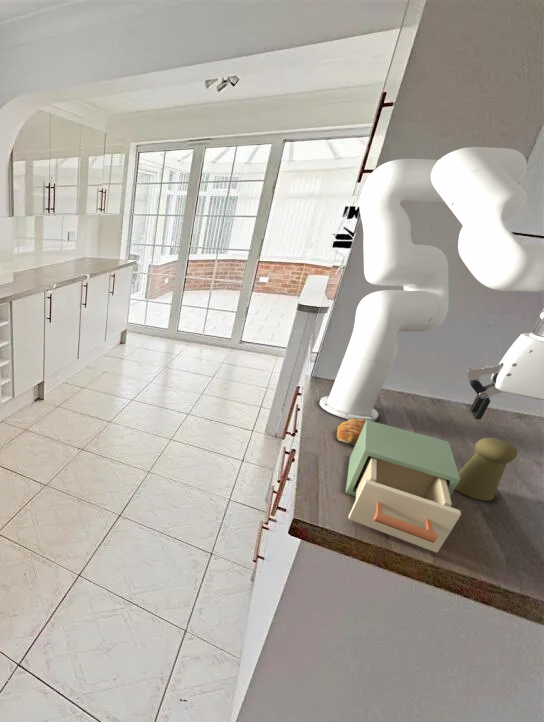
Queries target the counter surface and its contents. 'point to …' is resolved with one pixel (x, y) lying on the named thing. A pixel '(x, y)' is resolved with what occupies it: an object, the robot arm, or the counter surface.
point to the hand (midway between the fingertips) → (513, 425)
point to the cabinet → (402, 453)
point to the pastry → (350, 431)
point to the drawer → (404, 504)
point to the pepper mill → (485, 468)
